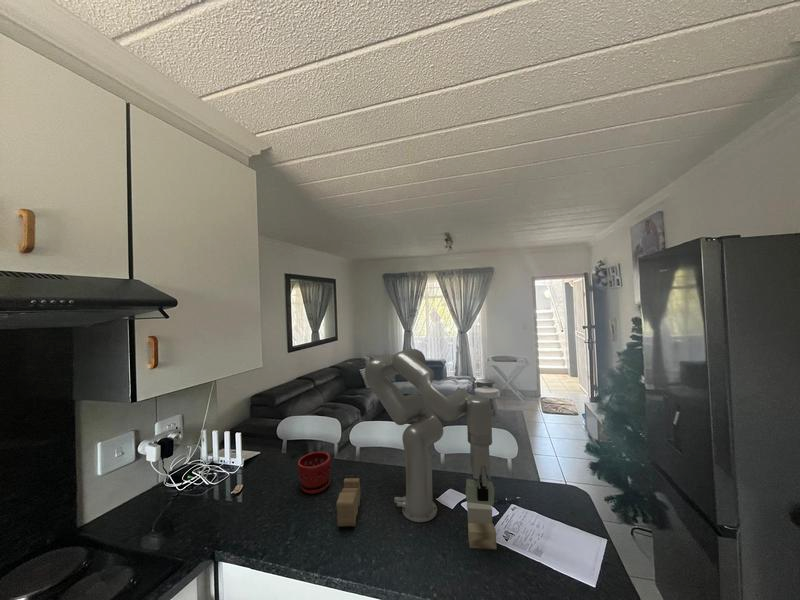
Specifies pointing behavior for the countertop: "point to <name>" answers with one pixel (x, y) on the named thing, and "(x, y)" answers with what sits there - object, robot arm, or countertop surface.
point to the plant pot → (314, 472)
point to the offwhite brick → (479, 513)
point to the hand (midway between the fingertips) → (481, 495)
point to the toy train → (348, 502)
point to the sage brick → (472, 492)
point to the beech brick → (482, 535)
